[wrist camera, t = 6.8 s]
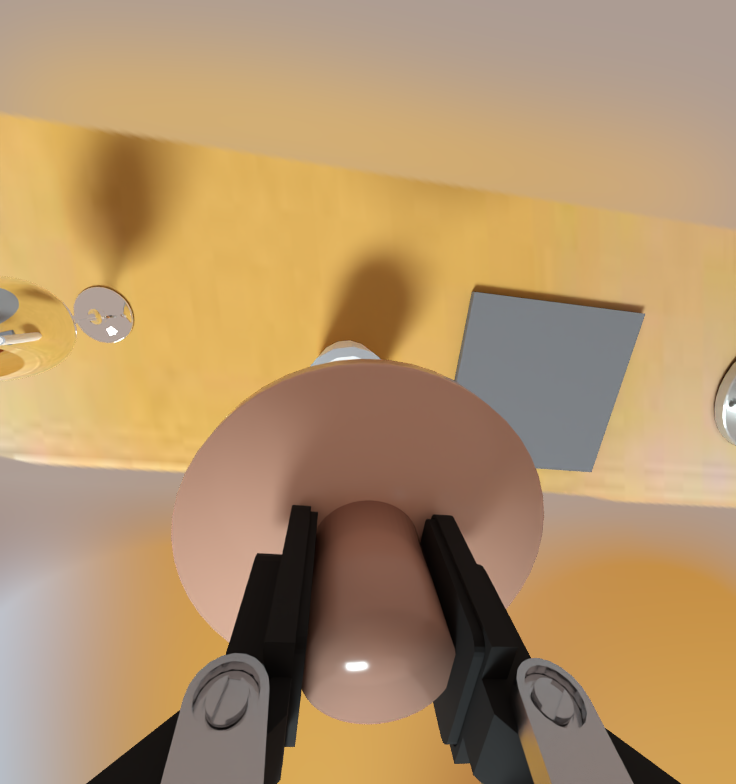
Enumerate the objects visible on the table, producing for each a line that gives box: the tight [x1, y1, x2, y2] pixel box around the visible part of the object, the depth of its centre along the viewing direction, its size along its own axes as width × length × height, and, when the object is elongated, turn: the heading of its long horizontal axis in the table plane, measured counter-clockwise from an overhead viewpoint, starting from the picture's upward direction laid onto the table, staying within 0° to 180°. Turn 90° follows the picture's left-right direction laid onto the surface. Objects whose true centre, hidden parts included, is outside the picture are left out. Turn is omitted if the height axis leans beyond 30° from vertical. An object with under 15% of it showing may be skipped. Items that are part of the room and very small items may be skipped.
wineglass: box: [0, 276, 133, 382], centre depth 22 cm, size 6×6×12 cm
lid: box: [171, 359, 544, 724], centre depth 9 cm, size 11×11×4 cm
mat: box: [454, 292, 645, 472], centre depth 33 cm, size 16×16×1 cm
